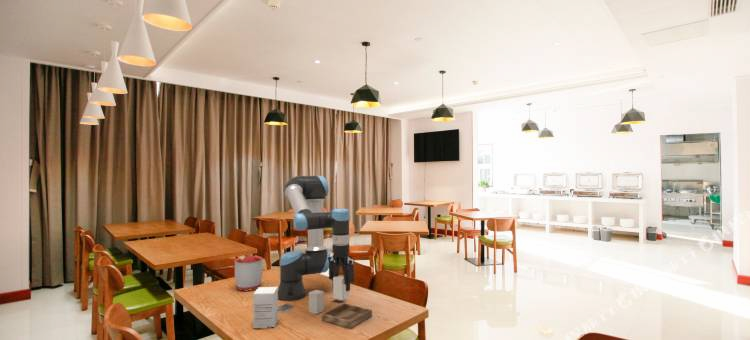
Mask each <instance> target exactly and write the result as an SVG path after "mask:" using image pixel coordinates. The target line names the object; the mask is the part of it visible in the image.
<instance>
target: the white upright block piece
mask: <svg viewBox="0 0 750 340" xmlns="http://www.w3.org/2000/svg"><path fill="white" fill-rule="evenodd" d="M324 295H325V293H324V290H319V289H314V290H312V291H310V292H308V312H309V313H312V314H316V315H317V314H319V313H321V312H324V311H325V298H324V297H325V296H324Z"/></svg>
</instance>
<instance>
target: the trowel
mask: <svg viewBox="0 0 750 340" xmlns="http://www.w3.org/2000/svg"><path fill="white" fill-rule="evenodd" d="M294 308H295V306H294V305H291V304H287V303H284V304H282V305H278V312H280V311H281V312H280V313H285V311H286V312H287V310H288V311H290V310H293V309H294Z"/></svg>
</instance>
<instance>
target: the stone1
mask: <svg viewBox="0 0 750 340" xmlns="http://www.w3.org/2000/svg"><path fill="white" fill-rule="evenodd" d="M344 283H345V279H344V274H343V275H342V274H340V275H339V274H338V276H336V277H333V281H332V289H333V291H332V292H333V293H332V294H333V297H332V298H333V299H339V300H344Z"/></svg>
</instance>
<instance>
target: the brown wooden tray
mask: <svg viewBox="0 0 750 340" xmlns="http://www.w3.org/2000/svg"><path fill="white" fill-rule="evenodd" d="M372 314H373V310H372V309H369V308H366V307H363V306H362V307H361V306H358V305H354V304H350V303H346V302H343V303H342V304H339V305H338V306H335V307H333V308H332V309H330V310H327V311H325V312H323V313H321V321H322V322H325V323H328V324H331V325H334V326H338V327H340V328H344V329H348V330H352V329H354V328H355V327H357V326H358V325H360V324H361V323H363V322H365V321H367V320H368V319H370V318H372V317H373V315H372Z"/></svg>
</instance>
